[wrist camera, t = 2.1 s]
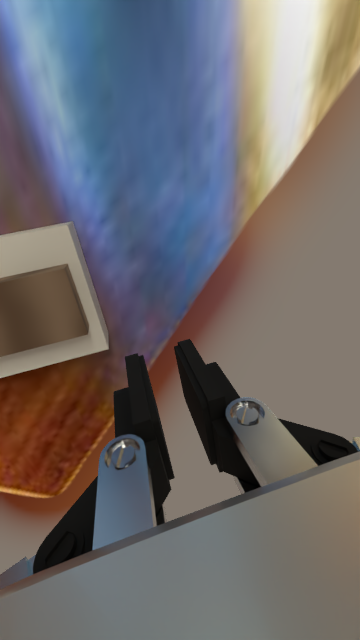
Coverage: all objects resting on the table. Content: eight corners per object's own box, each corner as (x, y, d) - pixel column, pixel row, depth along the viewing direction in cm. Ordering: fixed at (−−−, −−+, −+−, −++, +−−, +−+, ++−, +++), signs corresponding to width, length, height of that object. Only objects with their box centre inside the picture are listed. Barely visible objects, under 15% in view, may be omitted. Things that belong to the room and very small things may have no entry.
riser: (72, 221, 26) (67, 224, 22) (108, 332, 31) (108, 349, 27) (-92, 253, 24) (-127, 262, 20) (-25, 366, 29) (-43, 389, 25)
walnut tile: (67, 263, 23) (64, 268, 22) (89, 325, 26) (88, 334, 24) (-47, 287, 22) (-60, 295, 20) (-12, 350, 25) (-21, 362, 23)
